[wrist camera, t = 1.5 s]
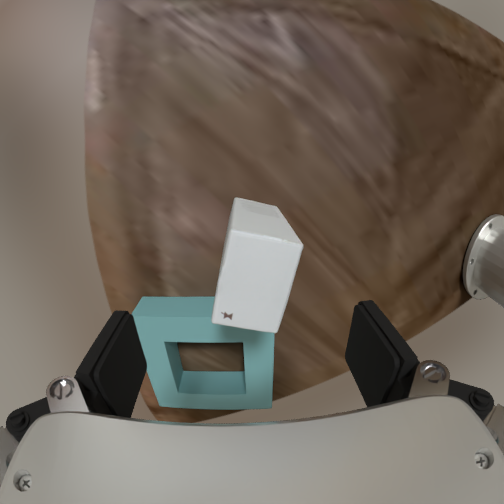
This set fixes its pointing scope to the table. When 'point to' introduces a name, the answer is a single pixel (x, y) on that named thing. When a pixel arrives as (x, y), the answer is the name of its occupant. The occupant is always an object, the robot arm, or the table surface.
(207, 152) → the table surface
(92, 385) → the robot arm
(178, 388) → the hollow square block
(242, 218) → the skincare box
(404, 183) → the table surface
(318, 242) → the table surface
